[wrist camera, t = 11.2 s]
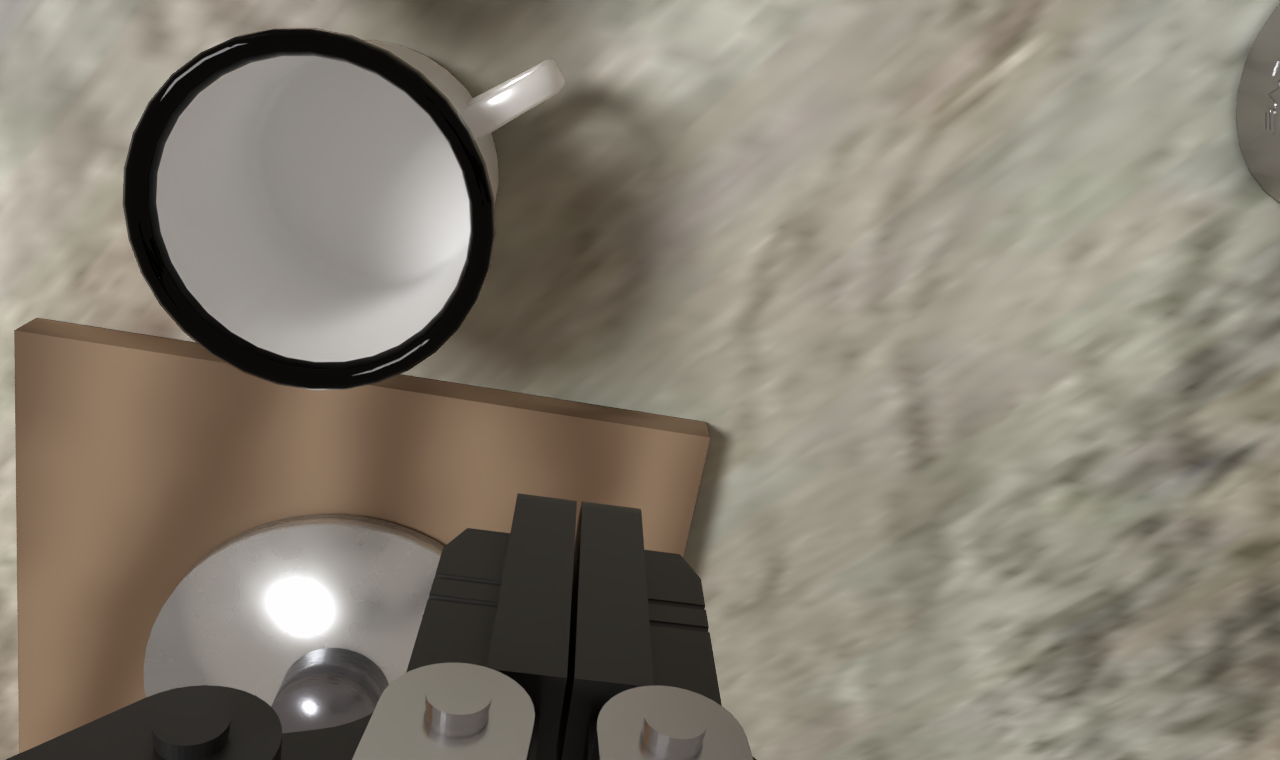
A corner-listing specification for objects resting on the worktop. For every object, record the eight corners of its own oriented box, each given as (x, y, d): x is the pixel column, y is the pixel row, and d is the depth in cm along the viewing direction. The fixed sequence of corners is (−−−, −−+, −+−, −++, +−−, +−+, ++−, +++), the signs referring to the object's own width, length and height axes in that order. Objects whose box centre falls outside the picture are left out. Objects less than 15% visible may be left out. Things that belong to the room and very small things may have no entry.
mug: (335, 349, 37) (262, 450, 29) (174, 110, 34) (39, 145, 26) (630, 189, 36) (644, 246, 28) (489, -75, 33) (456, -102, 24)
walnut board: (705, 421, 39) (726, 492, 33) (596, 911, 47) (598, 1035, 41) (36, 317, 36) (-64, 375, 31) (38, 854, 44) (-42, 978, 39)
